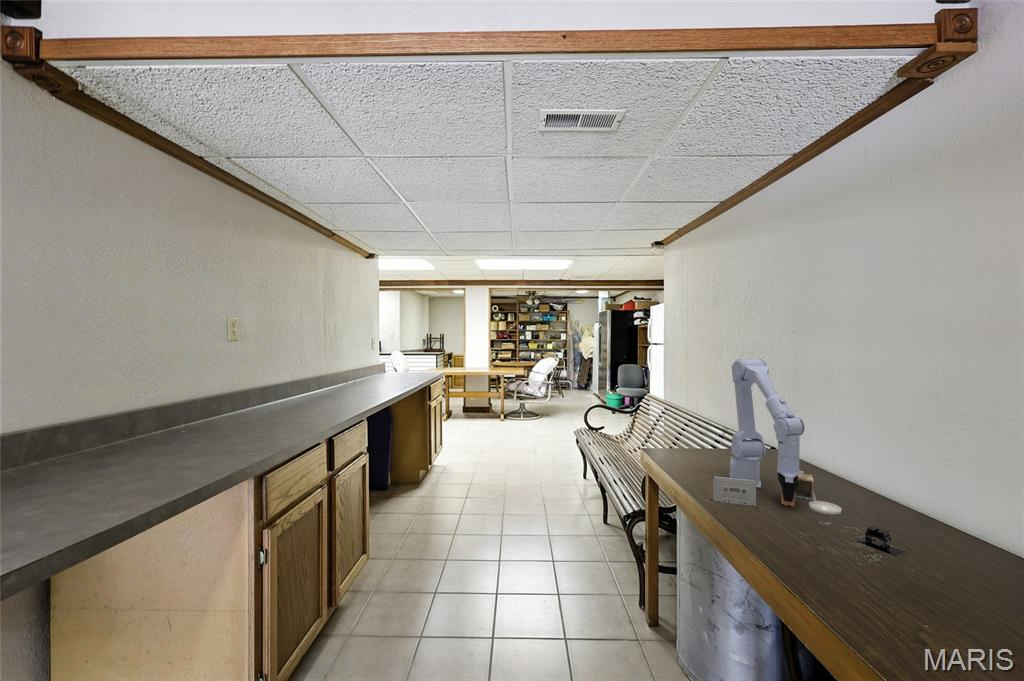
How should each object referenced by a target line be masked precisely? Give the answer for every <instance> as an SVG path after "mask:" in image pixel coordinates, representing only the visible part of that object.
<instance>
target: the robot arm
mask: <svg viewBox="0 0 1024 681" xmlns="http://www.w3.org/2000/svg"><path fill="white" fill-rule="evenodd" d="M769 373H770V367H769V366H768V364H767V362H766V361H765V359H762V358H760V359H740V358H739V359H735V360H734V362H733V364H732V365H731V374H732V383H734V392H735V403H736V404H735V405H736V413H737V414H736V415H737V424H738V431H737V432H735V433H733V435H731V440H732V441H731V444H730V445H731V446H730V449H731V452H732V455H733V456H730V460H729V461H730V462H729V463H730V466H729V473H728V474H729V477H728V478H736V479H746V480H755V481H756V487H757V488H756V489H760V488H761V487H762V480H760V478H761V477H760V475H761V474H760V473H761V472H760V468H761V467H760V466H761V465H760V464H761V462H760V461H761V460H763V458H764V456H765V455H766V452H767V448H766V444H765V443H764V440H763V439H764V438H763V435H761V434H760V433H759V432H758V431H756V422H755V414H754V413H755V411H754V403H753V400H754V399H753V393H752V392H753V391H752V386H753V385H754V384H755V385H756V386H757V387H758V389H759V391H760V392H761V393H762V395H763V396H764V398H765V399H766V401H765V403H764V404H765V407H766V409H767V410H768V413H770V415H771V417H772V420H773V421H774V424H772V425H773V430H774V432H775V438H776V441H777V468H776V471H777V473H776V474H777V476H778V477H777V480H778V483H779V484H780V487H782V492H783V498H784V501H788V502H792V501H793V498H794V493H795V490H796V488H797V486H798V485H799V483H800V482H799V481H798V480H797V479H798V475H799V474H801V475H803V474H805V473H804V471H803V470H800V442H801V441H800V440H801V439H800V437H801V436H802V435H803V434H804V432H805V428H806V427H805V424H804V421H803V419H802V418H801V417H799V416H797V415H796V414H794V412H792V410H791V408H790V407H789V405H788V403H787V402H786V400H785V398H784V397H782V396H780V395H778V392H777V391H776V389H775V386H774V385H773V383H772V380H771V379H770V375H769Z"/></svg>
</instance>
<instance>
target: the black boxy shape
mask: <svg viewBox="0 0 1024 681" xmlns="http://www.w3.org/2000/svg"><path fill="white" fill-rule="evenodd" d="M864 535H865V536H864ZM864 535H862V536H863V537H862V538H860V539H858V540H856V541H857V542H860V543H862V544H861V545H863V544H865V545H864V546H866V545H867V546H866V547H869V546H870V547H869V548H871V547H873V548H872V549H874V548H875V549H874V550H877V551H880V552H883V553H886V554H889V555H892V556H895V557H898V556H900V555H901V554H904V553H906V550H905V549H902V548H899V547H896V546H894V545H893V546H892V543H891V542H892V535H891V534H890V530H887V529H884V528H881V527H878V526H874V525H871V526H869V527H867V528H866V530H865V532H864ZM877 539H878V540H877ZM857 542H856V543H857ZM860 543H859V544H860Z"/></svg>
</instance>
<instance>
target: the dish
mask: <svg viewBox="0 0 1024 681" xmlns="http://www.w3.org/2000/svg"><path fill="white" fill-rule="evenodd" d="M808 508H809V509H810V510H812V511H813V512H816V513H819V514H822V515H823V514H824V515H828V514H829V515H830V516H839V515H841V514H842V507H841V506H839V505H838V504H835V503H832V502H828V501H822V500H816V501H815V500H810V501H809V502H808ZM829 515H828V516H829Z"/></svg>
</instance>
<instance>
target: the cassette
mask: <svg viewBox="0 0 1024 681" xmlns="http://www.w3.org/2000/svg"><path fill="white" fill-rule="evenodd" d="M730 489H739V491H736V490H735V491H734V490H730ZM743 490H745V491H743ZM712 495H713V498H712V499H713V501H714V502H719V503H724V504H726V503H727V504H734V505H740V504H741V505H742V506H752V505H753V506H754V507H755V506H757V488H756V481H755V480H746V479H736V478H730V477H725V476H716V475H714V476H713V494H712Z"/></svg>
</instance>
